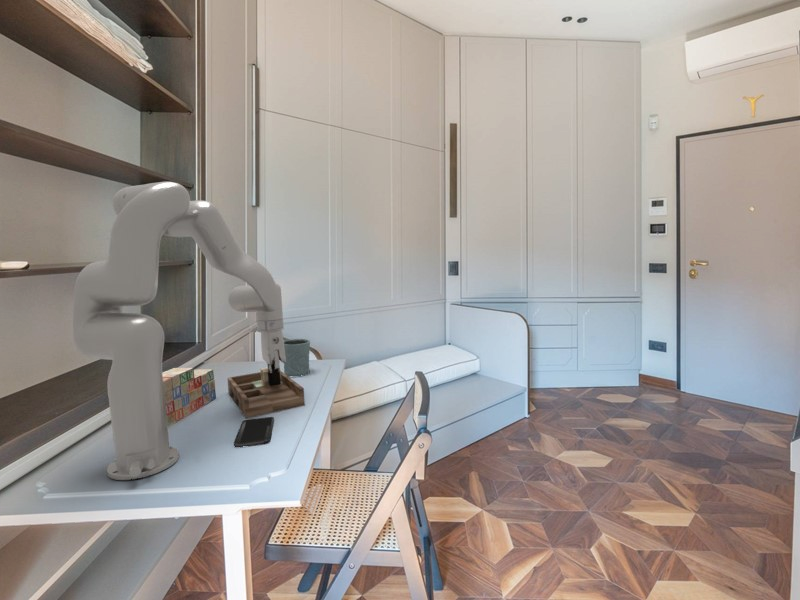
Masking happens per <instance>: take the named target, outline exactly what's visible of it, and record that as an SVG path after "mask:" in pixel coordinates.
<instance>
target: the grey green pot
mask: <svg viewBox="0 0 800 600" xmlns="http://www.w3.org/2000/svg"><path fill="white" fill-rule="evenodd" d="M310 344H311V341H310V340H309V339H306V338H305V339H304V338H293V339H287V340H284V347H285V356H286V362H285V363H283V371H284V372H283V373H284V374H285V375H287V376H299V377H302V376H301V375H304V376H306V375H305V374H307V375H308V374H309V373H310V349H311V348H310V347H311V346H310Z"/></svg>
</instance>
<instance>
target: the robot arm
mask: <svg viewBox="0 0 800 600" xmlns="http://www.w3.org/2000/svg"><path fill="white" fill-rule="evenodd" d="M190 197H191V196H190V194H189V192H188V190H187V188H186V187H185V186H183V185H182V184H180V183H178V182H174V181H160V182H151V183H146V184H139V185H133V186H125V187H123V188H121V189H119V190H118V191H117V192H116V193H115V194H114V196H113V199H112V208H113V211H114V212H115V214H116V218H115V220H114V222H113V224H112V227H111V231H110V239H109V249H108V258H107V260H106V259H105V260H98V261H94V262H91V263H90V264H88V265H86V266H84V267H83V268H82V270H81V271H80V272H79V274H78V276H77V278H76V280H75V283H74V291H73V292H74V293H73V311H72V312H73V314H72V315H73V317H72V337H73V342H74V346H75V348H76V349H77V350H78V351H79V352H80V353H81V354H82V355H84V356H86V357H88V358H91V359H96V360H98V359H99V360H108V361H109V360H110V361H111V360H112V362H111V367H110V370H109V374H108V376H107V383H106V385H107V396H108V404H109V413H110V422H111V430H112V438H113V439H112V440H113V441H112V442H113V448H114V449H113V450H114V455H115V456H114V457H115V459H114V460H113V461H112V462H110V463H109V464H108V466H107V468H106V472H107V477H109V478H110V479H112V480H117V481H129V480H131V479H132V480H136V479H137V478H138V479H141V478H142V477H143V478H145V477H150V476H153V475H155V474H158V473H160V472H162V471H165V470H167V469H169V468H170V467H171V466H173V465H174V464H175V463H176V462H177V461H178V460H179V457H180V456H179V455H180V454H179V450H178V449H177V448H176V447H173V446H170V438H169V437H170V436H169V426H167V415H166V405H165V395H164V386H163V374H162V373H163V355H164V348H165V347H164V346H165V331H164V329H163V326H162V325H161V323H160V322H159V321H158V320H156V318H154V317H152V316H150V315H147V314H143V313H137V312H123V309H124V308H123V307H138V306H145V305H148V304H149V303H151V302H152V301H153V300H154V299H155V298H156V296H157V294H158V286H159V267H160V266H159V264H160V262H159V261H160V246H161V239H162V237H163V235H164V236H167V237H174V238H186V237H187V238H188V237H189V238H190V237H191V238H192V239H193V240H194V242H195V244H196V245H197V247H198V248H199V250H200V251H201V252H202V255H203V256H204V257H205V259H206V261H207V263H208V264H209V266H211V267H212V268H214V269H216V270H218V271H219V272H222V273H224V274H228V275H230V276H233V277H235V278H238V279H240V280H242V281H243V282H245V283H246V284H247V285H239V286H236V287H234V288H232V290H231V291H230V292H229V294H228V298H227V301H228V304H229V306H230V307H231V308H232V309H233V310H234V311H237V312H240V313H256V314H255V316H256V317H255V318H256V327H257V328H256V330H257V332H259V333H260V346H261V355H262V359H263V361H264V362H266V364H267V365H266V368H267V369H268V383H269V385H270V386H275V385H280V384H281V383H280V371H281V365H280V362H281V363H282V364H284V363H285V362H286V356H285V347H284V341H285V340H284V335H283V330H284V329H285V328H284V316H283V314H284V313H283V303H282V302H283V301H282V300H283V299H282V287H281V286H280V285H279V284H278V283H276V281H275V279H274V278H273V276H272V274H271V272H270V271H269V270H268V268H266V267H265V266H264V265H262V263H260V262H259V261H258V260H256V259H255V258H253V257H252V256H251V255H249V254H247V253H246V252H245V251H243V250H242V249H241V247H240V245H239V244H238V242H237V240H236V239H235V236H234V235H233V234H232V232H231V229H230V228H229V226H228V225H227V223H226V221H225V219H224V218H223V216H222V214H221V212H220V211H219V209H218V208H217V206H216V205H215V204H214V203H213V202H211V201H208V200H201V199H200V200H191V198H190ZM149 475H150V476H149Z"/></svg>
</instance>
